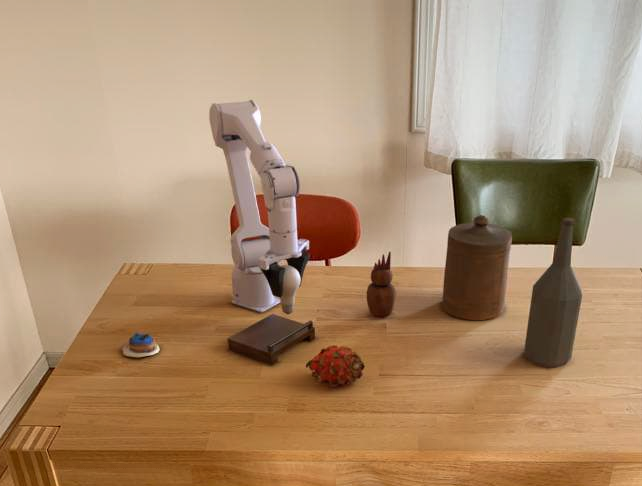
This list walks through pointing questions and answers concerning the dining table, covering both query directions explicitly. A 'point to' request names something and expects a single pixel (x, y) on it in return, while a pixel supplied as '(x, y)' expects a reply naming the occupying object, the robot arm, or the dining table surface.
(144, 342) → the dessert
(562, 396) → the dining table surface
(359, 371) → the dragon fruit
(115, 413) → the dining table surface
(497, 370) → the dining table surface
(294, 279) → the lightbulb
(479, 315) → the wooden container
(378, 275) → the wooden figurine
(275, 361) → the shelf
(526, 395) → the dining table surface
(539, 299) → the bottle
